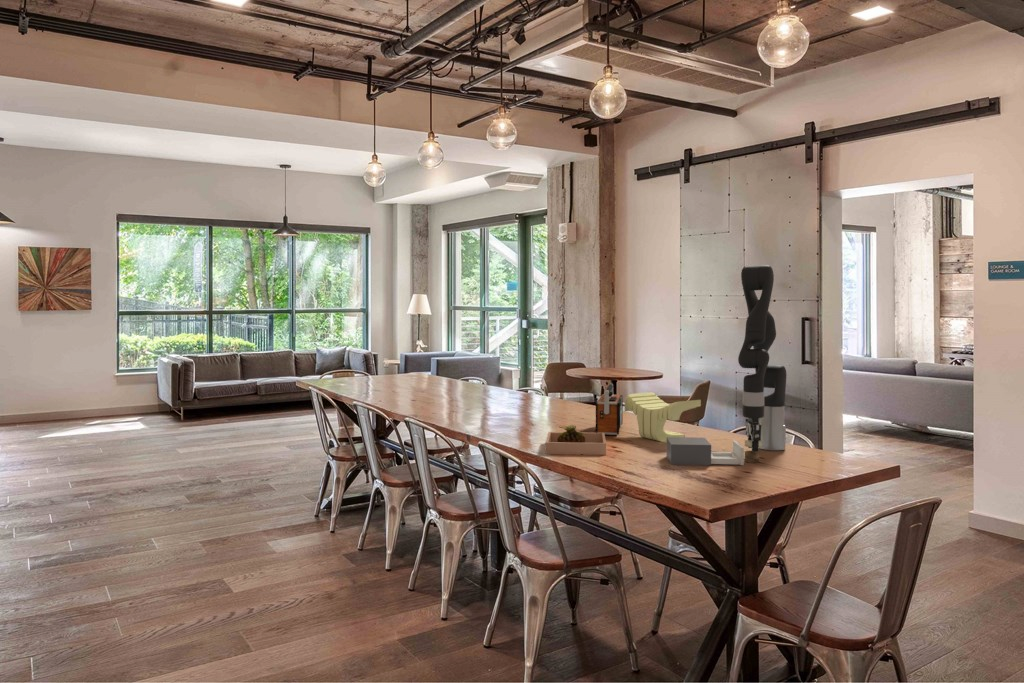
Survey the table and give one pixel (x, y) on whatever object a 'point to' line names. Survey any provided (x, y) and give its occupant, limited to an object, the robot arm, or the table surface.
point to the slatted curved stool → (656, 414)
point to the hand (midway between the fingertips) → (753, 449)
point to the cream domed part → (749, 443)
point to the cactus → (571, 435)
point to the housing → (688, 451)
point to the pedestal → (751, 457)
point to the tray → (729, 456)
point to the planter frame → (577, 445)
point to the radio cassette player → (609, 412)
